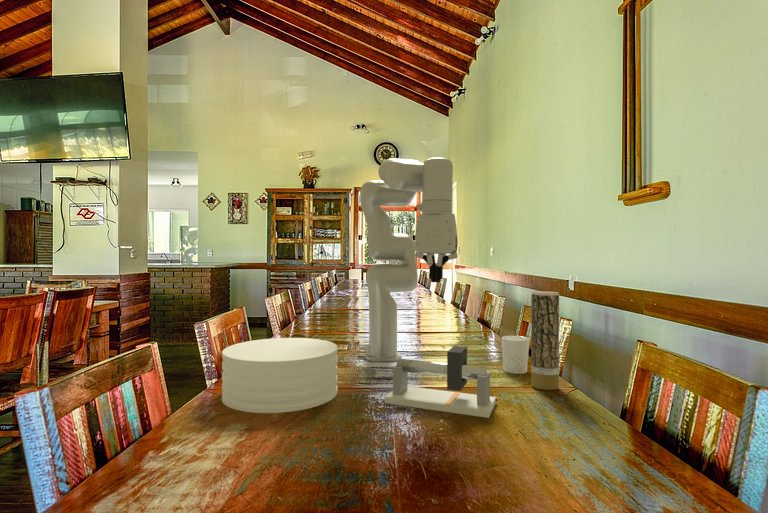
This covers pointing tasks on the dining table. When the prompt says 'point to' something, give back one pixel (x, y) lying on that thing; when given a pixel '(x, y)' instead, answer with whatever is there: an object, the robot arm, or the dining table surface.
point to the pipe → (438, 368)
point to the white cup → (515, 354)
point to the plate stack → (279, 374)
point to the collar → (456, 367)
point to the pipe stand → (441, 396)
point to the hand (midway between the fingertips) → (435, 281)
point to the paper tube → (545, 340)
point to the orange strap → (452, 398)
